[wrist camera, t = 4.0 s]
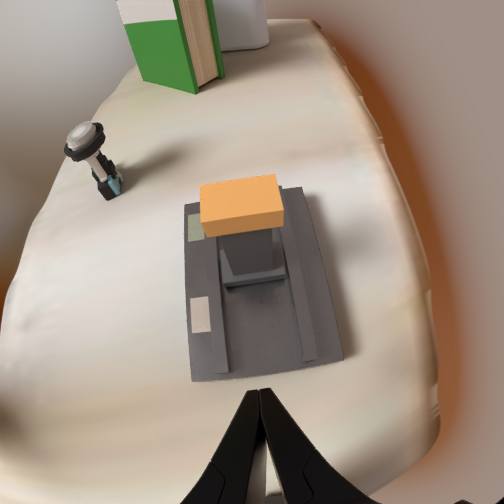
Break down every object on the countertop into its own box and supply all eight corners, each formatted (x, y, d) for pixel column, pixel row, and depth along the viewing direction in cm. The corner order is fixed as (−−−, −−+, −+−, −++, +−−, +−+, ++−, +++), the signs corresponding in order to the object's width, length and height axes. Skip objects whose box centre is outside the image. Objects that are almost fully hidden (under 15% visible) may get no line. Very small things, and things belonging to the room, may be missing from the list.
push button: (97, 175, 34) (64, 126, 25) (128, 159, 35) (100, 105, 26) (98, 208, 31) (57, 156, 22) (133, 190, 32) (98, 132, 23)
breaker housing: (338, 362, 21) (347, 359, 18) (198, 381, 21) (187, 381, 19) (300, 198, 29) (302, 179, 26) (189, 215, 29) (181, 197, 26)
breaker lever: (285, 278, 23) (290, 212, 14) (225, 287, 23) (195, 226, 14) (279, 246, 24) (279, 170, 16) (222, 255, 24) (194, 184, 16)
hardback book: (225, 77, 43) (206, -38, 22) (195, 94, 41) (166, -29, 20) (169, 65, 49) (145, -23, 28) (143, 80, 47) (112, -11, 26)
